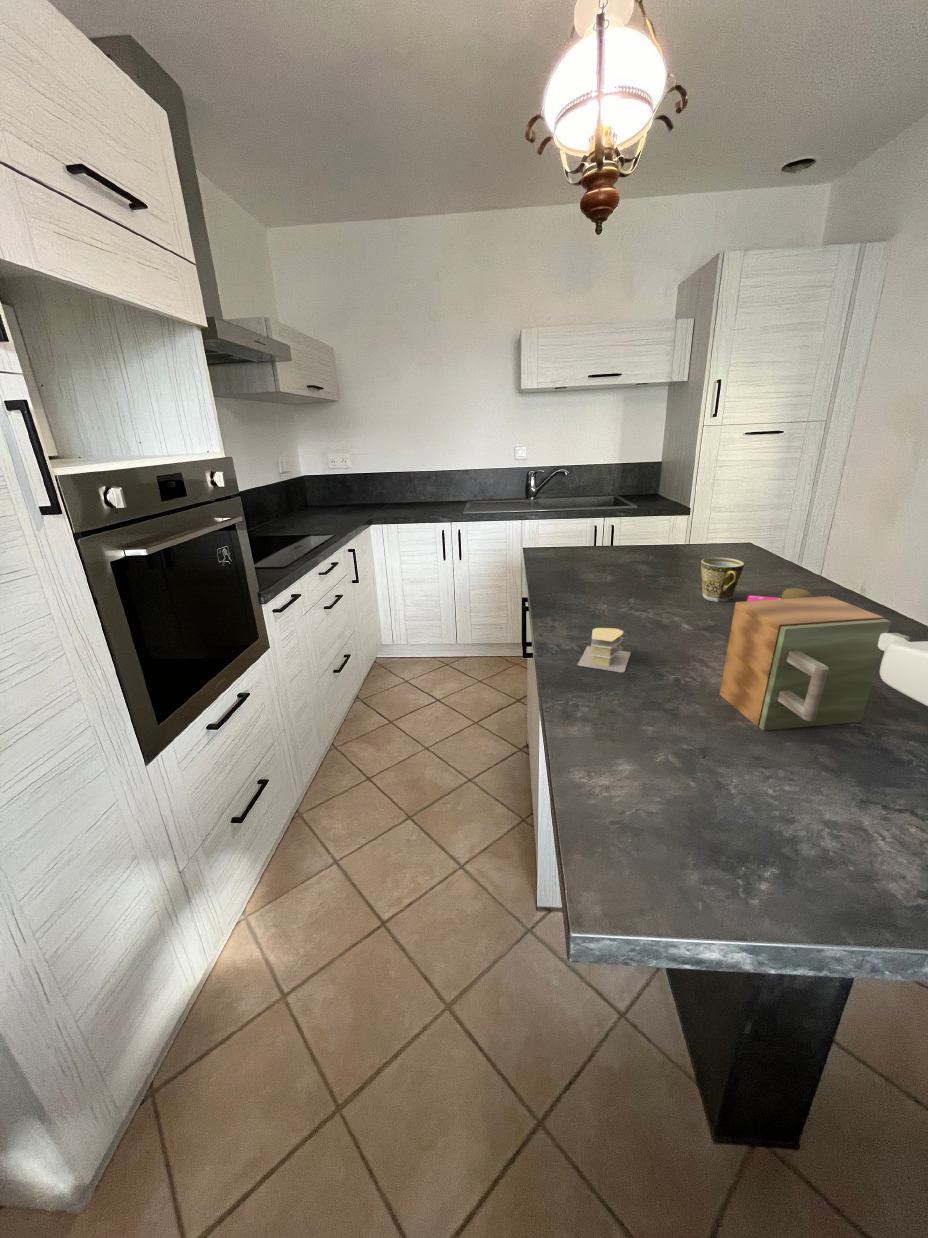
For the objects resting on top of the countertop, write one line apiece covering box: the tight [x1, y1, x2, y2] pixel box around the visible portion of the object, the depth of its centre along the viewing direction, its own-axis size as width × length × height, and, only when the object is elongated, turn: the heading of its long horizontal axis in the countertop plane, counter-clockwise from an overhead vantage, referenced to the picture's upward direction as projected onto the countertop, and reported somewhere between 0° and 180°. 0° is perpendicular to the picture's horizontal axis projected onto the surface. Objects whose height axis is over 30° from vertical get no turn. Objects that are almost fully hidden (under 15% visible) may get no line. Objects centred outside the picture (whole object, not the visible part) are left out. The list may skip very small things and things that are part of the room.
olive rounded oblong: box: [781, 587, 813, 599], centre depth 103 cm, size 6×6×11 cm
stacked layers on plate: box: [577, 627, 632, 673], centre depth 98 cm, size 10×9×6 cm
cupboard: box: [719, 595, 885, 728], centre depth 77 cm, size 10×16×17 cm, turn 96°
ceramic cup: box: [700, 557, 745, 603], centre depth 127 cm, size 13×10×10 cm
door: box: [758, 618, 892, 732], centre depth 69 cm, size 7×16×17 cm, turn 96°
